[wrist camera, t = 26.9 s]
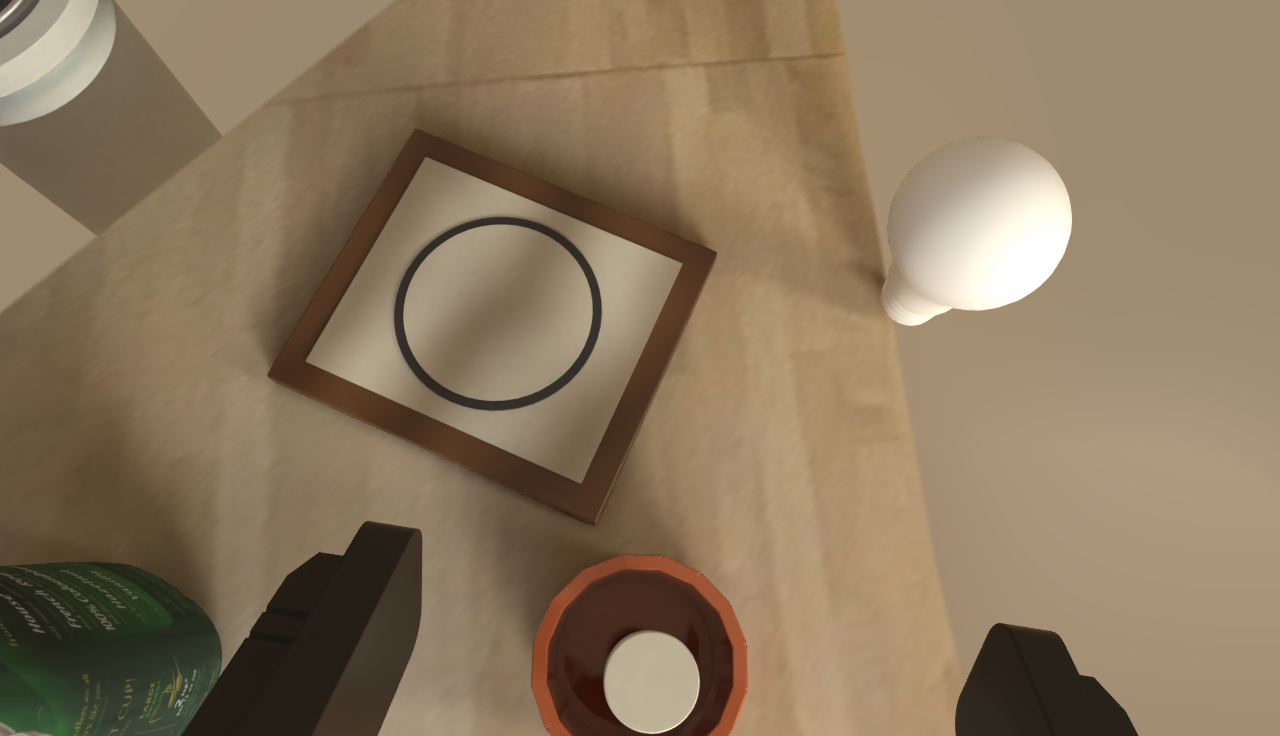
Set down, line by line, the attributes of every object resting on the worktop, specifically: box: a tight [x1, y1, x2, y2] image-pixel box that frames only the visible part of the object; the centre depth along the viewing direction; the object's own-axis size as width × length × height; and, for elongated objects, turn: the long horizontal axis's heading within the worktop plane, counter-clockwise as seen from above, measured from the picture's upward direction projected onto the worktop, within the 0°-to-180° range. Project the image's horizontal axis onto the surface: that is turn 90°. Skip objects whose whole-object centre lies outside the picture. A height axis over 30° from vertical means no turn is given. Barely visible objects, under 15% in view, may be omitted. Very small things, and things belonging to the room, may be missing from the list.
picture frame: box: [267, 129, 717, 526], centre depth 36 cm, size 15×13×1 cm
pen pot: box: [531, 554, 748, 736], centre depth 30 cm, size 7×7×6 cm
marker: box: [603, 630, 700, 734], centre depth 27 cm, size 2×2×12 cm
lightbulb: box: [880, 137, 1072, 326], centre depth 32 cm, size 6×6×11 cm
